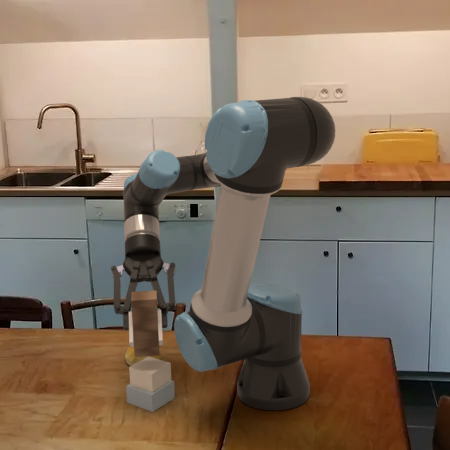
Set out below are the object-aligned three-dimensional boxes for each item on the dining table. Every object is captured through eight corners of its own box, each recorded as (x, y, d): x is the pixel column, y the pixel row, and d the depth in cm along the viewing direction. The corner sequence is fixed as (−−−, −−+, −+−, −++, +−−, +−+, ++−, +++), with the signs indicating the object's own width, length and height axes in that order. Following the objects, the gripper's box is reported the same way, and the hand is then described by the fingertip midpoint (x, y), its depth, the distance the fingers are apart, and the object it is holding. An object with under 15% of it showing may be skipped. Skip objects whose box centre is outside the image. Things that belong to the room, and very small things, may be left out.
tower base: (175, 398, 146) (174, 381, 145) (152, 413, 141) (151, 395, 140) (149, 390, 150) (148, 372, 149) (127, 403, 145) (125, 386, 144)
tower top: (171, 380, 146) (170, 362, 145) (152, 392, 141) (151, 374, 140) (149, 373, 149) (148, 356, 148) (130, 385, 144) (129, 367, 143)
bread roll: (158, 350, 170) (157, 335, 169) (163, 366, 161) (162, 350, 160) (123, 354, 168) (122, 339, 167) (127, 371, 159) (126, 355, 158)
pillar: (159, 344, 146) (156, 290, 143) (159, 355, 141) (156, 299, 138) (135, 346, 145) (131, 291, 142) (134, 357, 141) (131, 300, 137)
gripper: (184, 246, 154) (191, 347, 143) (101, 251, 153) (101, 353, 141) (184, 229, 148) (192, 333, 136) (97, 234, 146) (98, 339, 135)
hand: (146, 343), depth 139 cm, fingers closed on pillar, 5 cm apart
